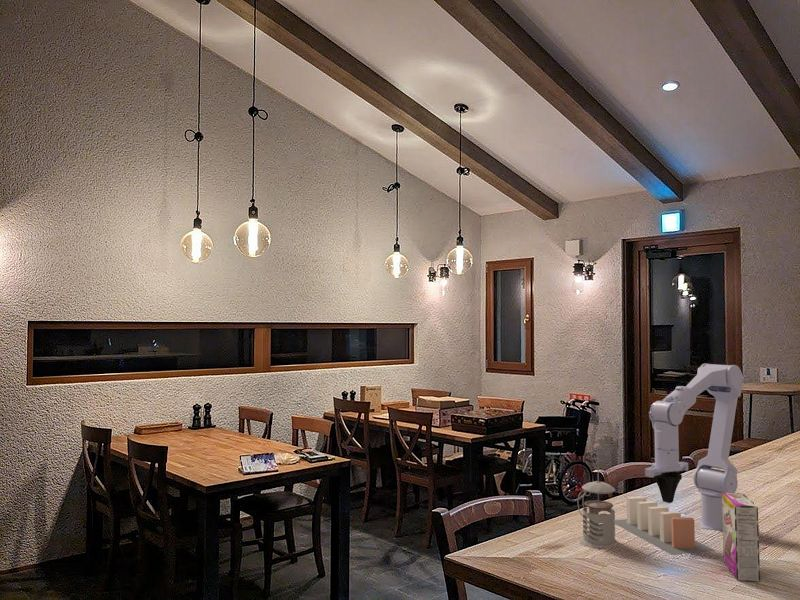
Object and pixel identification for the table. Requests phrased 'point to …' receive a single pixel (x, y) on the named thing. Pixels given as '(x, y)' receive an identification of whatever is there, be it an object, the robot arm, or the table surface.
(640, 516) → the domino
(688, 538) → the domino
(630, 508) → the domino
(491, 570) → the table surface
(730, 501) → the candy bar box
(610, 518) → the french press
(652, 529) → the domino
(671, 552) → the slate mat
